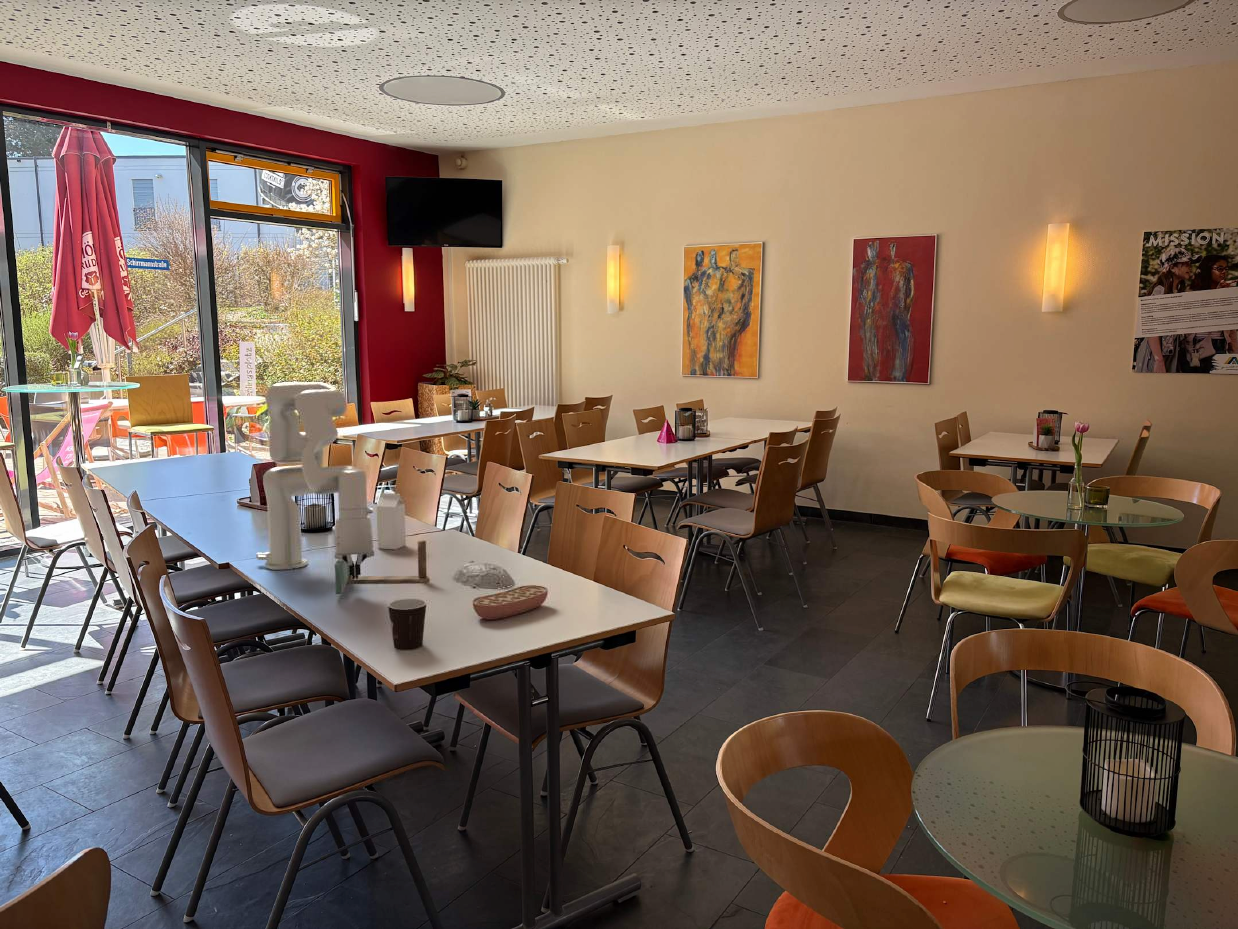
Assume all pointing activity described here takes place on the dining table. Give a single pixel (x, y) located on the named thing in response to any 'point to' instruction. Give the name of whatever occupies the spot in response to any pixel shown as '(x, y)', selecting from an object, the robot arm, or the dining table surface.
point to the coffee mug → (407, 623)
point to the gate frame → (384, 579)
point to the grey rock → (482, 576)
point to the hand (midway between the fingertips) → (355, 577)
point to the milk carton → (390, 521)
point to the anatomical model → (510, 602)
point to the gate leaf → (341, 575)
